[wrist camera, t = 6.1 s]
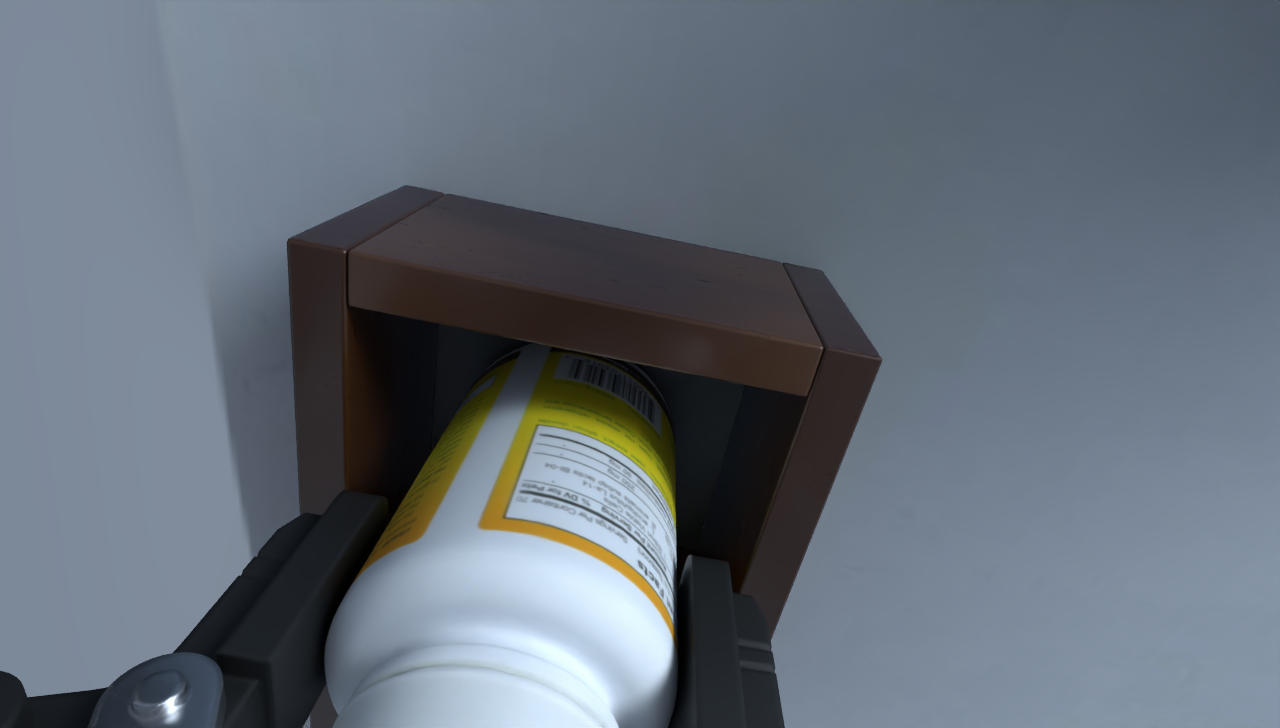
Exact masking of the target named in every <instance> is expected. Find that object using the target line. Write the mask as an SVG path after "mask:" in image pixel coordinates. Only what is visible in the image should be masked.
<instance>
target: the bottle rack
mask: <svg viewBox="0 0 1280 728" xmlns="http://www.w3.org/2000/svg"><path fill="white" fill-rule="evenodd" d="M287 255H288V276H289V296H290V317H291V338H292V358H293V379H294V399H295V420H296V440H297V461H298V481H299V502H300V515H302V514H304V513H305V512H306V513H312V514H317V515H323V513H324V512H325V511H326V509H327V508H328V507H329V505H330V504H331V503H332V502H333V500H334V499H335V498H336V496H337V495H338V494H339V493H340V492H341V491H343V490H350V491H356V492H361V493H366V494H372V495H377V496H382V497H386V498H387V501H388V524H389V523H390V521H391V519H392V517H393V516H394V514H395V513H396V511H397V509H398V508H399V506H400V504H401V503H402V501H403V499H404V498H405V496H406V494H407V493H408V491H409V490H410V488H411V486H412V485H413V483H414V481H415V479H416V478H417V476H418V474H419V473H420V471H421V469H422V468H423V466H424V464H425V462H426V461H427V459H428V458H429V456H430V447H431V431H432V414H433V397H434V381H435V364H436V347H437V330H438V324H442V325H447V326H452V327H457V328H462V329H467V330H472V331H477V332H482V333H487V334H492V335H497V336H502V337H507V338H512V339H517V340H522V341H527V342H532V343H537V344H542V345H547V346H552V347H557V348H562V349H567V350H572V351H577V352H582V353H587V354H592V355H597V356H602V357H607V358H612V359H617V360H622V361H627V362H632V363H637V364H642V365H647V366H652V367H657V368H662V369H667V370H672V371H677V372H683V373H688V374H693V375H698V376H703V377H708V378H713V379H718V380H723V381H728V382H733V383H738V384H743V385H746V386H745V390H744V393H743V396H742V400H741V403H740V406H739V410H738V413H737V416H736V420H735V423H734V426H733V430H732V433H731V436H730V440H729V443H728V446H727V450H726V453H725V456H724V460H723V463H722V466H721V470H720V473H719V476H718V480H717V483H716V486H715V490H714V493H713V496H712V500H711V503H710V506H709V510H708V513H707V516H706V519H705V523H704V526H703V529H702V533H701V536H700V539H699V543H698V546H697V549H696V553H694V552H693V551H688V550H683V549H678V548H676V558H677V562H676V567H677V590H678V586H679V583H680V580H681V576H682V573H683V569H684V566H685V563H686V560H687V558H688V556H689V555H694V556H699V557H704V558H710V559H715V560H720V561H726V562H728V563H729V566H730V574H731V583H732V592H734V593H739V594H744V595H750V596H753V598H754V599H755V601H756V603H757V604H758V606H759V608H760V609H761V611H762V613H763V614H764V616H765V618H766V619H767V622H768V628H769V634H770V640H771V638H772V636H773V633H774V631H775V628H776V626H777V623H778V621H779V618H780V616H781V613H782V611H783V608H784V606H785V603H786V601H787V598H788V596H789V593H790V591H791V588H792V586H793V583H794V581H795V578H796V576H797V573H798V571H799V568H800V565H801V563H802V560H803V558H804V555H805V553H806V550H807V548H808V545H809V543H810V540H811V538H812V535H813V533H814V530H815V528H816V525H817V523H818V520H819V518H820V515H821V513H822V510H823V508H824V505H825V503H826V500H827V498H828V495H829V493H830V490H831V488H832V485H833V483H834V480H835V478H836V475H837V473H838V470H839V468H840V465H841V463H842V460H843V458H844V455H845V452H846V450H847V447H848V445H849V442H850V440H851V437H852V435H853V432H854V430H855V427H856V425H857V422H858V420H859V417H860V415H861V412H862V410H863V407H864V405H865V402H866V400H867V397H868V395H869V392H870V390H871V387H872V385H873V382H874V380H875V377H876V375H877V372H878V370H879V367H880V365H881V362H882V358H881V356H880V355H879V353H878V352H877V351H876V349H875V348H874V346H873V345H872V343H871V342H870V340H869V339H868V337H867V336H866V334H865V333H864V331H863V330H862V328H861V327H860V325H859V324H858V322H857V321H856V320H855V318H854V317H853V315H852V314H851V312H850V311H849V309H848V308H847V306H846V305H845V303H844V302H843V300H842V299H841V297H840V296H839V294H838V293H837V291H836V290H835V289H834V287H833V286H832V284H831V283H830V281H829V280H828V278H827V277H826V275H825V274H824V272H823V271H821V270H817V269H812V268H807V267H802V266H797V265H793V264H788V263H783V264H782V263H780V262H777V261H773V260H768V259H763V258H758V257H753V256H748V255H743V254H739V253H734V252H729V251H724V250H719V249H714V248H709V247H705V246H700V245H695V244H690V243H685V242H680V241H675V240H671V239H666V238H661V237H656V236H651V235H646V234H641V233H637V232H632V231H627V230H622V229H617V228H612V227H607V226H603V225H598V224H593V223H588V222H583V221H578V220H574V219H569V218H564V217H559V216H554V215H549V214H544V213H540V212H535V211H530V210H525V209H520V208H515V207H510V206H506V205H501V204H496V203H491V202H486V201H481V200H476V199H472V198H467V197H462V196H457V195H452V194H447V195H445V194H444V193H442V192H437V191H432V190H427V189H422V188H417V187H412V186H408V185H405V186H402V187H400V188H398V189H396V190H394V191H391V192H389V193H387V194H385V195H383V196H380V197H378V198H376V199H374V200H372V201H370V202H367V203H365V204H363V205H361V206H359V207H356V208H354V209H352V210H350V211H348V212H346V213H343V214H341V215H339V216H337V217H335V218H332V219H330V220H328V221H326V222H324V223H321V224H319V225H317V226H315V227H313V228H311V229H308V230H306V231H304V232H302V233H300V234H297V235H295V236H293V237H291V238H289V239H288V241H287ZM338 716H339V715H338V714H337V712H336V710H335V708H334V706H333V703H332V700H331V697H330V694H329V691H328V687H327V684H326V686H325V688H324V689H323V691H322V693H321V695H320V697H319V698H318V700H317V702H316V704H315V706H314V707H313V709H312V711H311V713H310V728H333V725H334V723H335V721H336V719H337V717H338Z"/></svg>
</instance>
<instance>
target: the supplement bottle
mask: <svg viewBox="0 0 1280 728" xmlns="http://www.w3.org/2000/svg"><path fill="white" fill-rule="evenodd" d="M675 453H676V451H675V433H674V427H673V422H672V418H671V415H670V412H669V409H668V406H667V404H666V402H665V400H664V398H663V396H662V395H661V393H660V391H659V390H658V388H657V387H656V385H655V384H654V383H653V382H652V380H651V379H650V378H649V377H648V376H647V375H646V374H645V373H644V372H643V371H642V370H641V369H640V368H638V367H637V366H636V365H635V364H634V363H632V362H627V361H622V360H617V359H612V358H607V357H602V356H597V355H592V354H587V353H582V352H577V351H572V350H567V349H562V348H557V347H552V346H547V345H542V344H537V343H533V344H529V345H526V346H523V347H520V348H518V349H516V350H514V351H512V352H510V353H508V354H506V355H504V356H503V357H501V358H499V359H498V360H497V361H495V362H494V363H493V364H491V365H490V366H489V367H488V368H487V369H486V370H485V371H484V372H483V373H482V374H481V376H480V377H479V378H478V379H477V380H476V382H475V383H474V384H473V386H472V387H471V389H470V390H469V392H468V394H467V395H466V397H465V398H464V400H463V402H462V403H461V405H460V407H459V408H458V410H457V411H456V413H455V415H454V416H453V418H452V420H451V422H450V423H449V425H448V427H447V428H446V430H445V431H444V433H443V435H442V436H441V438H440V440H439V442H438V443H437V445H436V446H435V448H434V449H433V451H432V453H431V454H430V456H429V458H428V459H427V461H426V462H425V464H424V466H423V468H422V469H421V471H420V473H419V474H418V476H417V478H416V479H415V481H414V483H413V485H412V486H411V488H410V490H409V491H408V493H407V494H406V496H405V498H404V499H403V501H402V503H401V504H400V506H399V508H398V509H397V511H396V513H395V514H394V516H393V517H392V519H391V521H390V523H389V524H388V526H387V528H386V529H385V531H384V532H383V534H382V536H381V537H380V539H379V540H378V542H377V544H376V546H375V547H374V549H373V551H372V552H371V554H370V556H369V557H368V559H367V560H366V562H365V564H364V565H363V567H362V568H361V570H360V572H359V573H358V575H357V576H356V578H355V580H354V581H353V583H352V585H351V586H350V588H349V589H348V591H347V593H346V594H345V596H344V598H343V600H342V602H341V604H340V605H339V607H338V609H337V611H336V614H335V616H334V618H333V620H332V623H331V626H330V628H329V632H328V636H327V639H326V644H325V652H324V666H325V676H326V682H327V687H328V691H329V694H330V697H331V700H332V703H333V706H334V708H335V710H336V712H337V714H338V715H339V716H338V717H337V719H336V721H335V723H334V725H333V728H668V726H669V723H670V720H671V717H672V714H673V711H674V707H675V702H676V695H677V683H678V661H679V654H678V617H677V567H676V562H677V558H676V464H675Z"/></svg>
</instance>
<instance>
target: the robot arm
mask: <svg viewBox="0 0 1280 728" xmlns="http://www.w3.org/2000/svg"><path fill="white" fill-rule="evenodd" d="M387 526H388V501H387V498H386V497H382V496H377V495H372V494H366V493H361V492H356V491H350V490H343V491H341V492H340V493H339V494H338V495H337V496H336V498H335V499H334V500H333V502H332V503H331V504H330V505H329V507H328V508H327V509H326V511H325V512H324V513H323V515H317V514H312V513H306V512H305V513H304V514H302V515H300V516H299V517H297V518H295V519H294V520H292V521H291V522H289V523H287V524H286V525H284V526H282V527H281V528H279V529H278V530H277V531H276V532H275V533H274V534H273V535H272V537H271V538H270V539H269V540H268V541H267V543H266V544H265V545H264V546H263V547H262V548H261V550H260V551H259V552H258V556H257V557H254V558H253V559H252V560H251V562H250V563H249V564H248V565H247V566H246V568H245V569H244V570H243V573H242V575H241V576H238V577H237V578H236V580H234V582H233V583H232V584H231V585H230V586H229V588H228V589H227V590H226V591H225V592H224V594H223V595H222V596H221V597H220V598H219V599H218V601H217V602H216V603H215V604H214V605H213V607H212V608H211V609H210V610H209V611H208V613H207V614H206V615H205V616H204V617H203V618H202V620H201V621H200V622H199V623H198V624H197V626H196V627H195V628H194V629H193V630H192V632H191V633H190V634H189V635H188V636H187V638H186V639H185V640H184V641H183V642H182V644H181V645H180V646H179V647H178V648H177V649H176V650H175V651H174V652H173V653H172V654H167V655H162V656H159V657H156V658H152V659H150V660H148V661H145V662H143V663H141V664H139V665H137V666H135V667H133V668H132V669H130V670H128V671H127V672H126V673H124V674H123V675H121V676H120V677H119V678H118V679H116V681H114V682H113V683H112V684H111V685H110V686H109V687H106V688H102V689H96V690H89V691H80V692H71V693H62V694H54V695H45V696H36V697H27V695H26V693H25V690H24V687H23V685H22V683H21V681H20V680H19V679H18V678H17V677H15V676H13V675H11V674H10V673H6V672H3V671H0V728H302V727H303V725H304V723H305V722H306V720H307V718H308V716H309V714H310V713H311V711H312V709H313V707H314V706H315V704H316V702H317V700H318V698H319V697H320V695H321V693H322V691H323V689H324V688H325V686H326V684H327V682H326V676H325V666H324V652H325V644H326V639H327V636H328V632H329V628H330V626H331V623H332V620H333V618H334V616H335V614H336V611H337V609H338V607H339V605H340V604H341V602H342V600H343V598H344V596H345V594H346V593H347V591H348V589H349V588H350V586H351V585H352V583H353V581H354V580H355V578H356V576H357V575H358V573H359V572H360V570H361V568H362V567H363V565H364V564H365V562H366V560H367V559H368V557H369V556H370V554H371V552H372V551H373V549H374V547H375V546H376V544H377V542H378V540H379V539H380V537H381V536H382V534H383V532H384V531H385V529H386V528H387ZM677 617H678V654H679V661H678V683H677V695H676V702H675V707H674V711H673V714H672V717H671V720H670V723H669V726H668V728H785V726H784V720H783V714H782V708H781V702H780V696H779V689H778V683H777V677H776V674H775V672H774V671H775V665H774V659H773V653H772V652H771V647H772V646H771V640H770V634H769V628H768V622H767V619H766V618H765V616H764V614H763V613H762V611H761V609H760V608H759V606H758V604H757V603H756V601H755V599H754V598H753V596H750V595H744V594H739V593H734V592H732V583H731V574H730V566H729V563H728V562H726V561H720V560H715V559H710V558H704V557H699V556H694V555H689V556H688V558H687V560H686V563H685V566H684V569H683V573H682V576H681V580H680V583H679V586H678V590H677Z"/></svg>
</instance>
